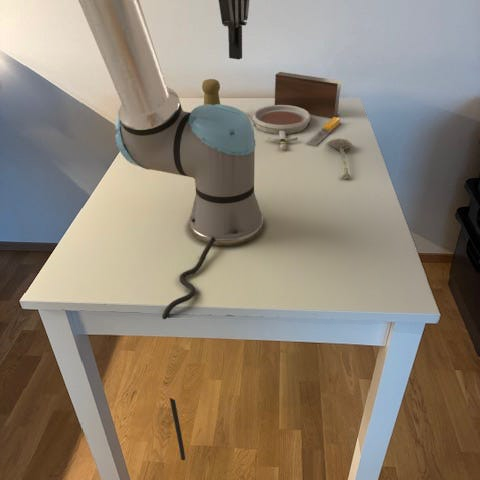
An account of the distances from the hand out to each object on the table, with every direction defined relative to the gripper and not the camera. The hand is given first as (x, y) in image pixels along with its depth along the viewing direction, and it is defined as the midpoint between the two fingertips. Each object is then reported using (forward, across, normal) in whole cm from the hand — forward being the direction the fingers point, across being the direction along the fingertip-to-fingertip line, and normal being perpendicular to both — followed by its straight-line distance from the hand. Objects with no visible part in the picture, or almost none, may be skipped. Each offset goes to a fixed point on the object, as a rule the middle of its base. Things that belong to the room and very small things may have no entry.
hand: (235, 57), depth 114 cm
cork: (+23, +18, +19) cm, 35 cm away
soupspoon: (+23, +9, -26) cm, 36 cm away
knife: (+23, +23, -15) cm, 36 cm away
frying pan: (+23, +19, -4) cm, 30 cm away
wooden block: (+23, +37, -3) cm, 43 cm away
